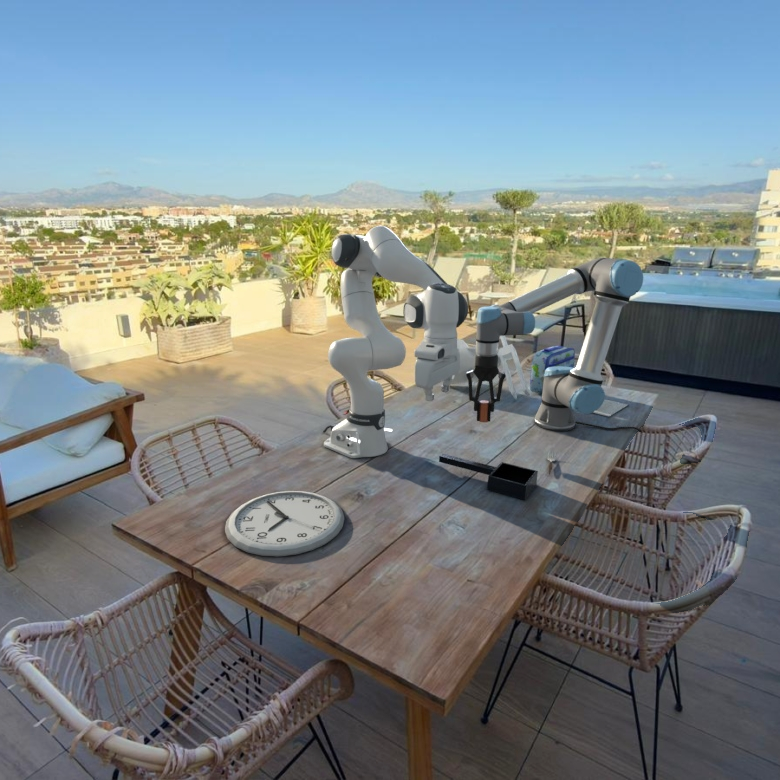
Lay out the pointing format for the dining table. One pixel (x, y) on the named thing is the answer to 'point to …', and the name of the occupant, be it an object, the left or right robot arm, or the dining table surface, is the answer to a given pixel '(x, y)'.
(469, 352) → the white plastic object
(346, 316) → the left robot arm
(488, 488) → the pan
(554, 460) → the fork
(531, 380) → the lunch box
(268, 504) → the wall clock
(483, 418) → the peg
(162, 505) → the dining table surface
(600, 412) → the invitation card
